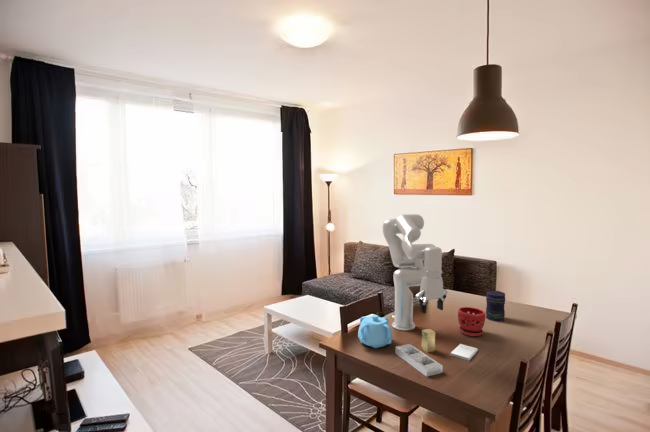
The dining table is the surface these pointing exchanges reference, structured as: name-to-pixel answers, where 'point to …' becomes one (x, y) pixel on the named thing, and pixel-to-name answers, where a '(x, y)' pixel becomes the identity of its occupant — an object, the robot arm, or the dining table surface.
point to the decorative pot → (375, 331)
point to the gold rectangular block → (428, 340)
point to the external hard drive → (464, 352)
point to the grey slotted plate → (419, 360)
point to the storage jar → (495, 306)
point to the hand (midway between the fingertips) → (431, 310)
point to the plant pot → (471, 321)
